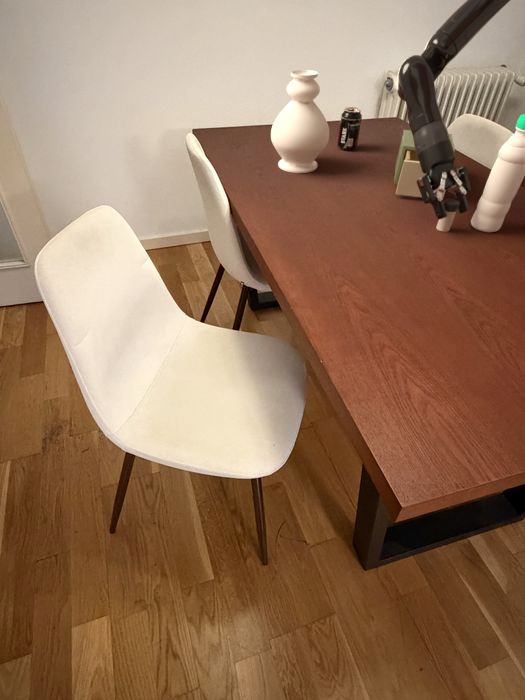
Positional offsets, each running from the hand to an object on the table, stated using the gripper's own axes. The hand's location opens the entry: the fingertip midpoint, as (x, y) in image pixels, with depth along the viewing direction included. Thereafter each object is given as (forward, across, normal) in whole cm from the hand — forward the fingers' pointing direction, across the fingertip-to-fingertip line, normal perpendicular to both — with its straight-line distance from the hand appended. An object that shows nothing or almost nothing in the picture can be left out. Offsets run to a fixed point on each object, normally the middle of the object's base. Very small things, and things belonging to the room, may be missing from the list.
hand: (453, 214), depth 96 cm
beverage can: (-39, +13, +45) cm, 61 cm away
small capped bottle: (+2, 0, +4) cm, 5 cm away
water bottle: (+5, +10, +2) cm, 12 cm away
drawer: (-13, +10, +17) cm, 24 cm away
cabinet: (-17, +17, +24) cm, 34 cm away
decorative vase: (-34, -11, +41) cm, 55 cm away
